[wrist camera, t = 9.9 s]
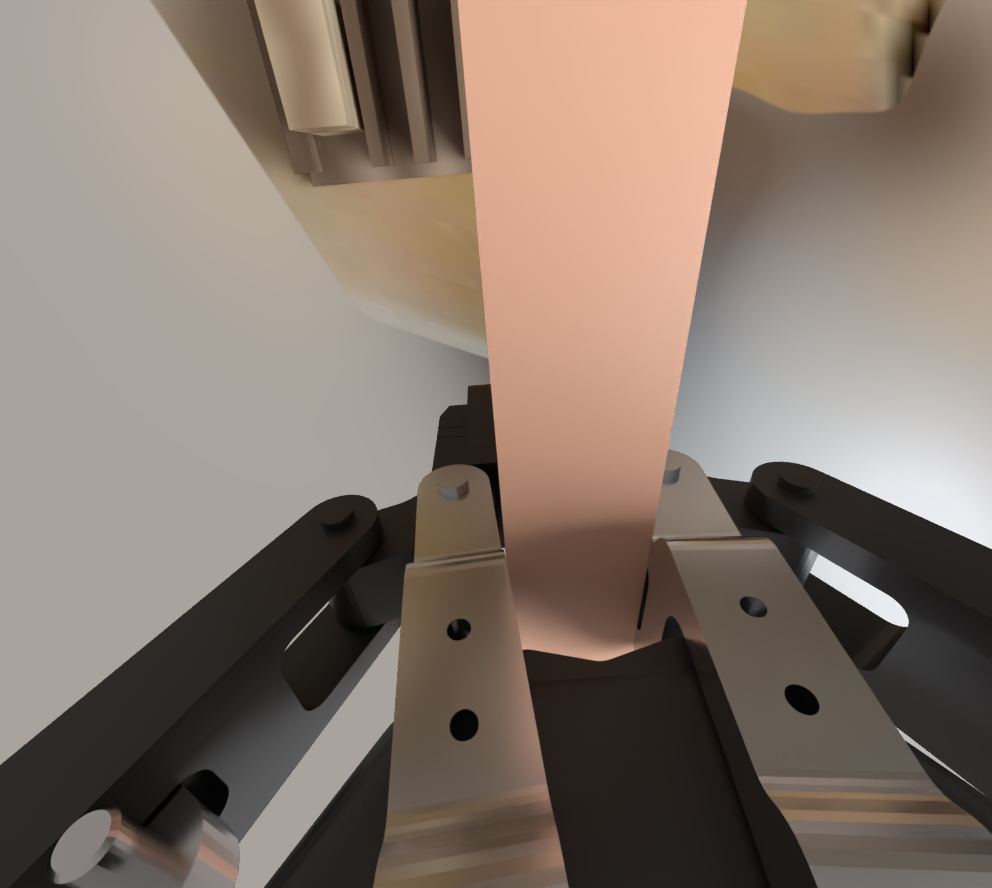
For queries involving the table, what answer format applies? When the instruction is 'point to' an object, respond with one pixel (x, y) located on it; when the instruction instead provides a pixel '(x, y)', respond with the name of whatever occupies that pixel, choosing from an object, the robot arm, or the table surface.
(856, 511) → the robot arm
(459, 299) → the table surface
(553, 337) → the terracotta board
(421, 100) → the walnut rack
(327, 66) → the offcut stack
